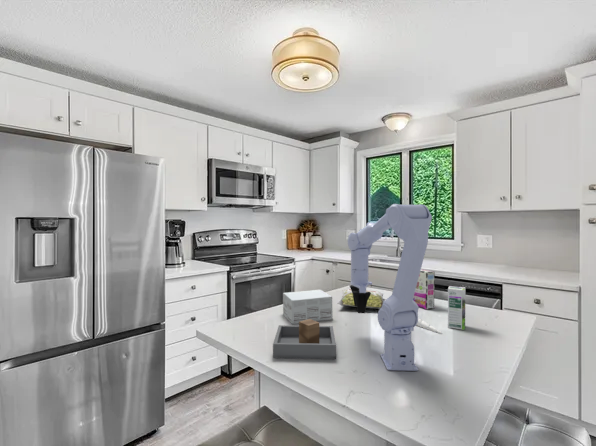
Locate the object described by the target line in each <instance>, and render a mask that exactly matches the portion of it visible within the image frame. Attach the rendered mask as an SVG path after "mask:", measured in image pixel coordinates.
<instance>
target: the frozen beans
mask: <svg viewBox="0 0 596 446" xmlns="http://www.w3.org/2000/svg"><path fill="white" fill-rule="evenodd" d="M366 292H370V293H371V295H370V297H369V299H368V301H367V305H366V309H376V310H380V308H381V307H382V305H383V302H384V300H383V297H384V293H382V292H379V291H377V290H376V291H374V290H366ZM337 305H340V306H343V307H354V308H357V306H355V304H354V299H353V294H352V291H351V288H350V289H349V288H348V289H343V290H342V296H341V299H340V301H338V302H337Z"/></svg>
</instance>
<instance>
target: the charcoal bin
mask: <svg viewBox="0 0 596 446" xmlns="http://www.w3.org/2000/svg"><path fill="white" fill-rule="evenodd" d="M333 327H334V326H333V325H319V344H317V343H299V325H285V324H284V325H281V324H280V325H278V327H277V331H276V334H275V337H274V340H273V343H272V358H273V359H306V360H308V359H311V360H313V359H314V360H315V359H316V360H318V359H319V360H336V359H337V344H336V343H337V342H336V337H335V332H334V331H335V330H334V328H333Z"/></svg>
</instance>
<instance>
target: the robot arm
mask: <svg viewBox="0 0 596 446" xmlns="http://www.w3.org/2000/svg"><path fill="white" fill-rule="evenodd" d="M432 219H433V216H432V214H431V212H430V210H429V208H428V206H426V205H425V204H421V203H419V204H398V203H393V204H390V206H389V207H388V208H386V210H385V213H384V215H383V216H381V217H380V218H379V219H378V220H377V221H376V222H367V223H366V224H365V226H364V227H362V228H360V229H359V231H357V232H356V233H355V232H350V233H349V235H348V236H347V247H348V249H349V250H350V284H349V288H350V289H351V291H352V294H353V299H354V304H355V306H357V307H356V309H357V314H365V312H366V310H367V308H366V305H367V301H368V299H369V297H370V295H371V293H370V292H366V291H367V288H368V286H369V285H370V286H371V285H373V282H372V281H369V256H370V255H371V249H372V247H373V244H374V243H376V242H377V241H379V240H380V239H381V238H382V237H383V233H384V232H386V231H388V230H390V229H392V230H393V232H394V233H395V234H396V236H397V237H398V238H399V239H400V240H402V241H403V247H402V250H401V256H400V260H399V264H398V268H397V273H396V277H395V280H394V284H393V285H394V286H393V289H392V294H391V295H389V296H388V297H387V298H385V299H384V300H383V305H382V307H381V308H380V309H378V312H377V322H378V325H379V326H380V328H381V329H382V330H383V333H384V334H383V341H384V342H383V349H384V351H383V353H380V357H381V359H382V361H383V364H384V366H385V368H386V370H388V371H409V372H410V371H411V372H413V371H415V372H416V371H417V372H418V371H419V368H418V366H416V364H415V346H414V345H415V344H414V343H413V341H412V332H414V331H415V329H414V328H415V327H417V326H416V325H417V323H418V318H419V309H420V307H418V305H417V304H416V302H415V301H414V300H413V297H414V293H415V289H416V285H417V282H418V278H419V274H420V270H421V269H422V266H423V262H424V259H425V258H424V257H425V255H426V254H425V253H426V251H427V247H428V243H429V231H430V227H431V224H432Z"/></svg>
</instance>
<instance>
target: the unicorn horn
mask: <svg viewBox="0 0 596 446" xmlns="http://www.w3.org/2000/svg"><path fill="white" fill-rule="evenodd" d="M415 327H419V328H421V329H422V328H423V329H425V330H428V331H431V332H434V333H437V334H443V333H442V331H440V330H438V328H436V327H434V326H433V325H430V323H428V322H426V321H425V320H423V319H421V318H419V317H418V323H417V325H416V326H415Z"/></svg>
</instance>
